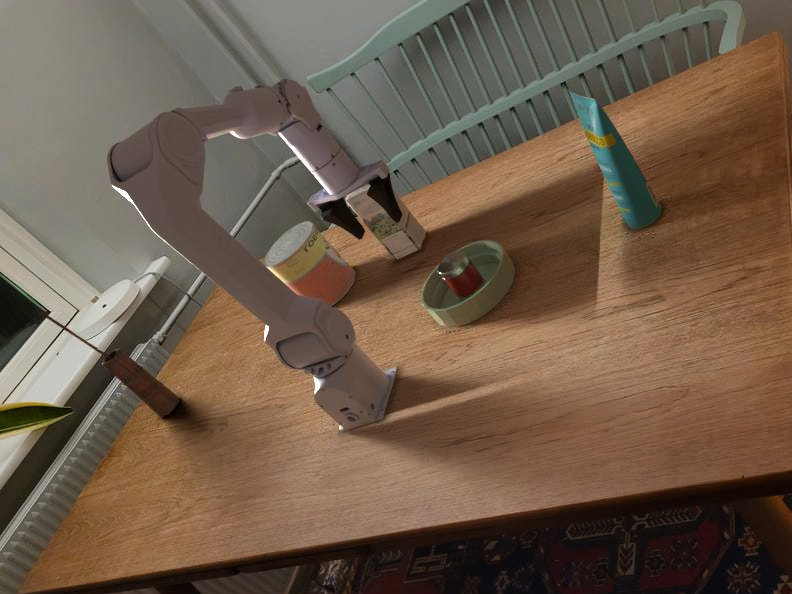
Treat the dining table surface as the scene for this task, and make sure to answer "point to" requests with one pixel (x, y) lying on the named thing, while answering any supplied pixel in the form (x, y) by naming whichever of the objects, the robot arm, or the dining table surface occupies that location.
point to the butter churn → (134, 378)
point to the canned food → (310, 264)
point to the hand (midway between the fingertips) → (380, 227)
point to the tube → (617, 165)
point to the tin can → (461, 275)
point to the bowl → (498, 283)
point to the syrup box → (388, 224)
